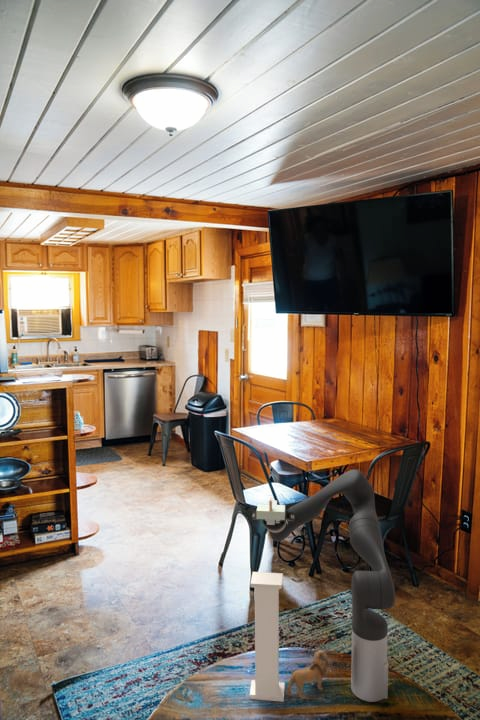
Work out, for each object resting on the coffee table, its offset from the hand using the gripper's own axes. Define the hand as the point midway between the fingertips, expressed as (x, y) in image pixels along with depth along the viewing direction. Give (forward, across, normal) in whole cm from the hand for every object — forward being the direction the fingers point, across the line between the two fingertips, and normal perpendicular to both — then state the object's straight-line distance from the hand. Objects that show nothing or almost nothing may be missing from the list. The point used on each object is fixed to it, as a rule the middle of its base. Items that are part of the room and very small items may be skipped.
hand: (271, 512), depth 160 cm
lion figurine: (-7, -11, -45) cm, 47 cm away
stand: (-4, 0, -46) cm, 47 cm away
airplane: (-3, 0, 0) cm, 3 cm away
